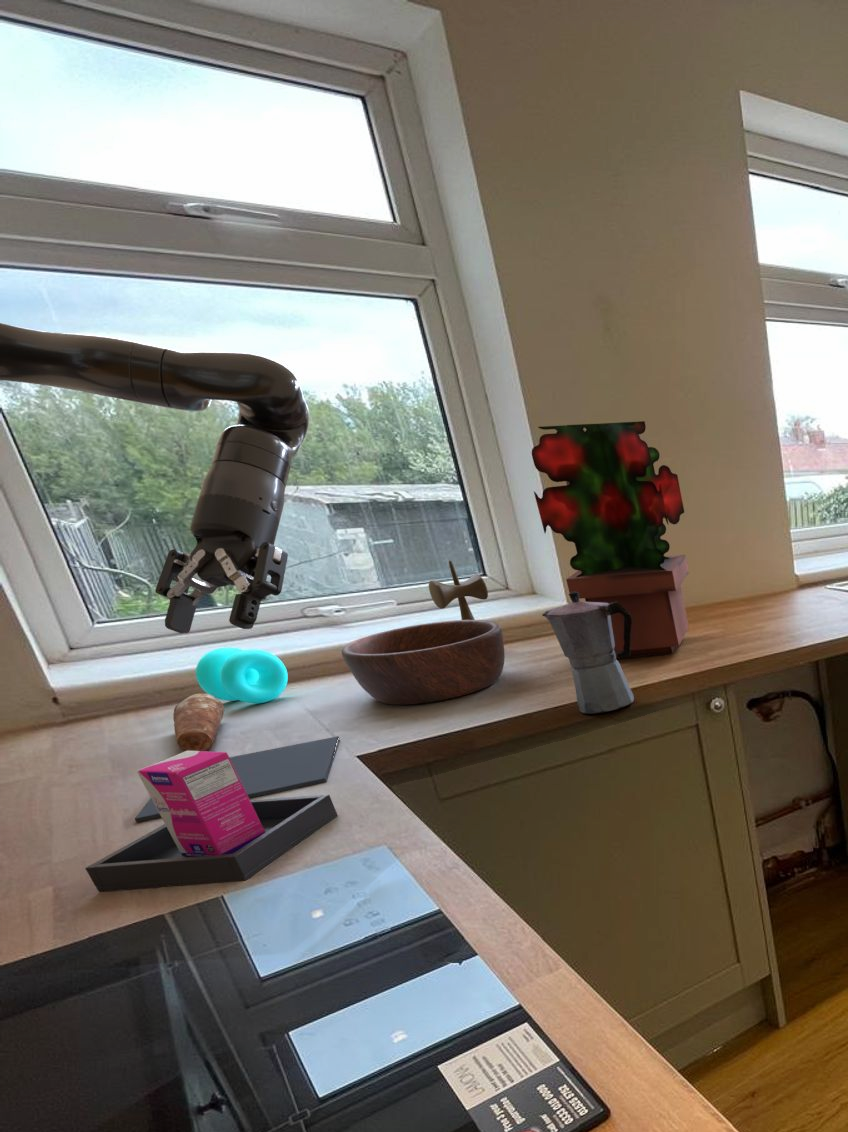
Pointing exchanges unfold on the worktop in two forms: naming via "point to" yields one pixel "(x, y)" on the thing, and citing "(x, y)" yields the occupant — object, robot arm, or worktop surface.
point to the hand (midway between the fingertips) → (208, 628)
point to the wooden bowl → (427, 661)
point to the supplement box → (202, 803)
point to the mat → (275, 770)
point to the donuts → (242, 675)
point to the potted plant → (617, 527)
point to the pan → (164, 865)
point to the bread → (197, 721)
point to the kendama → (458, 592)
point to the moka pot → (593, 652)
